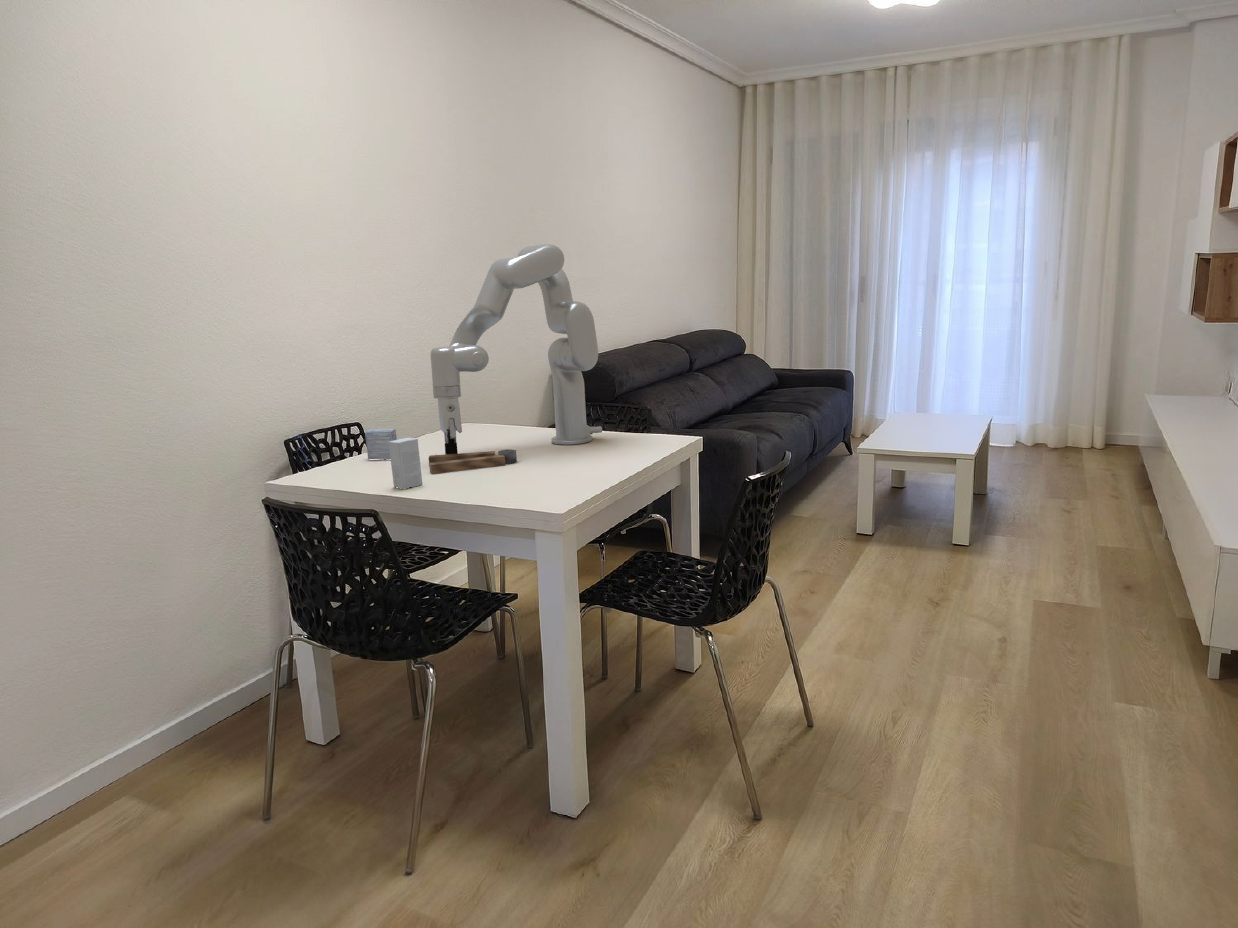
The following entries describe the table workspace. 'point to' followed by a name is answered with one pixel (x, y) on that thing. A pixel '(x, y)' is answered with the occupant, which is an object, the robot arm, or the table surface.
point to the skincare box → (405, 463)
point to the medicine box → (379, 442)
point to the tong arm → (459, 456)
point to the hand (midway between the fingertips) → (451, 457)
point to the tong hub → (475, 462)
